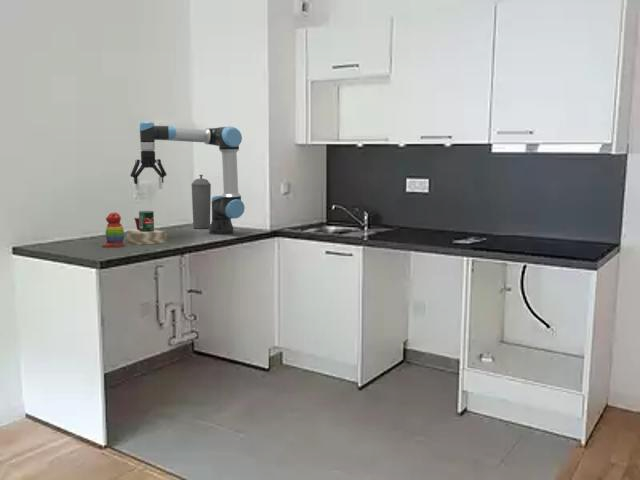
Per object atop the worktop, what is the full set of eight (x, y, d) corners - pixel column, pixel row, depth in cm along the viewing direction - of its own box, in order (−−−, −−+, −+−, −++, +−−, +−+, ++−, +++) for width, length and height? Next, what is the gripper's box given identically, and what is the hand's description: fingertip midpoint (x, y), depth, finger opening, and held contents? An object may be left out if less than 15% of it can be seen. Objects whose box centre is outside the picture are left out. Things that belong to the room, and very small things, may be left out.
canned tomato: (144, 230, 347) (144, 210, 346) (156, 230, 345) (156, 211, 344) (136, 231, 340) (135, 211, 338) (149, 232, 338) (148, 212, 336)
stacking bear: (108, 244, 333) (107, 211, 330) (127, 244, 333) (126, 211, 330) (101, 247, 322) (100, 213, 320) (120, 247, 322) (119, 213, 319)
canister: (197, 226, 416) (196, 174, 411) (214, 227, 412) (214, 174, 407) (188, 228, 403) (187, 174, 399) (206, 229, 400) (205, 175, 395)
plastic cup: (152, 235, 369) (152, 215, 367) (154, 238, 359) (153, 217, 357) (133, 236, 365) (133, 215, 364) (134, 238, 355) (134, 217, 354)
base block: (153, 239, 354) (153, 228, 354) (166, 242, 342) (166, 231, 342) (127, 241, 344) (126, 230, 343) (139, 244, 332) (139, 233, 331)
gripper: (165, 150, 349) (166, 188, 352) (123, 150, 333) (124, 190, 336) (171, 150, 344) (173, 188, 347) (128, 150, 328) (130, 190, 331)
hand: (149, 189), depth 342 cm, fingers open, 13 cm apart
